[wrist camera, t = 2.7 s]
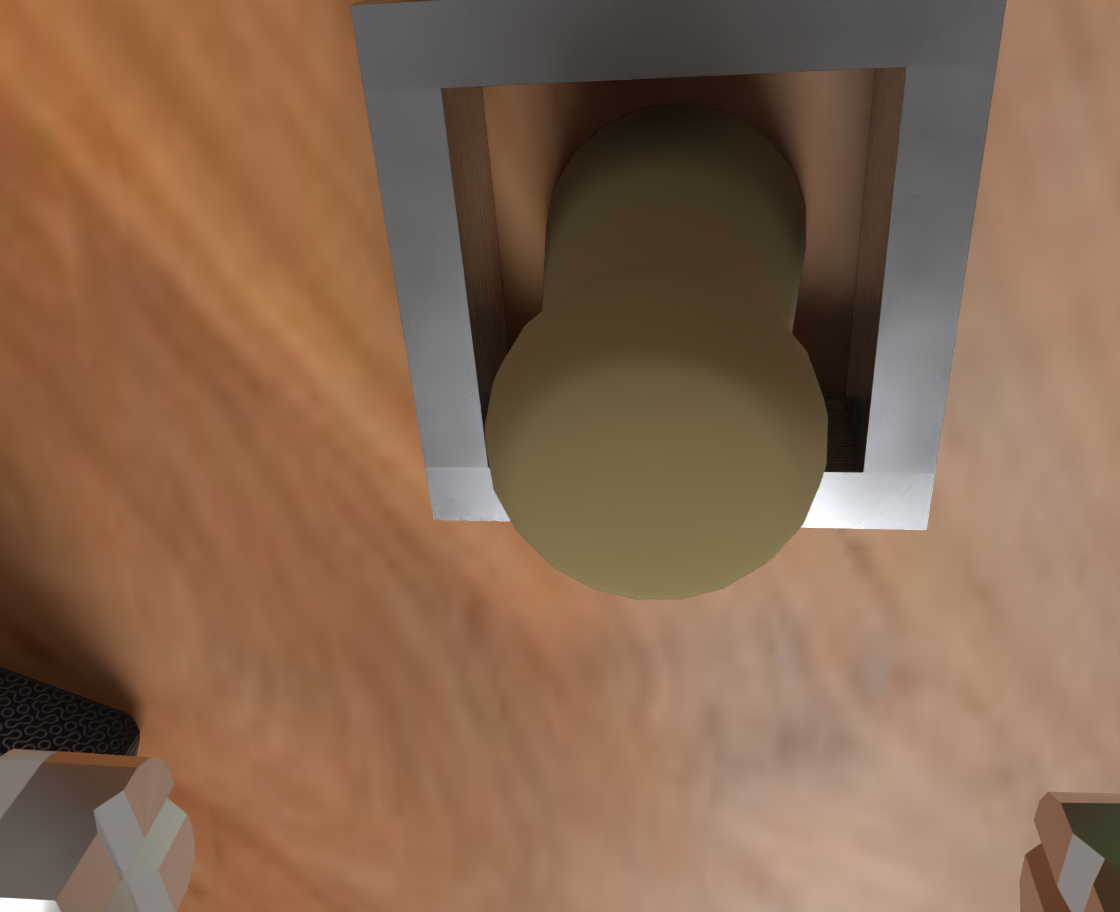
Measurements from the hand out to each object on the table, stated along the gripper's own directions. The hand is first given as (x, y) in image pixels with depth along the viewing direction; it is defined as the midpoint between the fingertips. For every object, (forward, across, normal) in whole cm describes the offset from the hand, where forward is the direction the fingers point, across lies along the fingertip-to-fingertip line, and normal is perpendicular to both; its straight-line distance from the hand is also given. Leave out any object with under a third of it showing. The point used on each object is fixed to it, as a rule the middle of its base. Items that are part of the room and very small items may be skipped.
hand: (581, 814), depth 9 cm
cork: (+16, -1, 0) cm, 17 cm away
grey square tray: (+16, -1, 0) cm, 16 cm away
